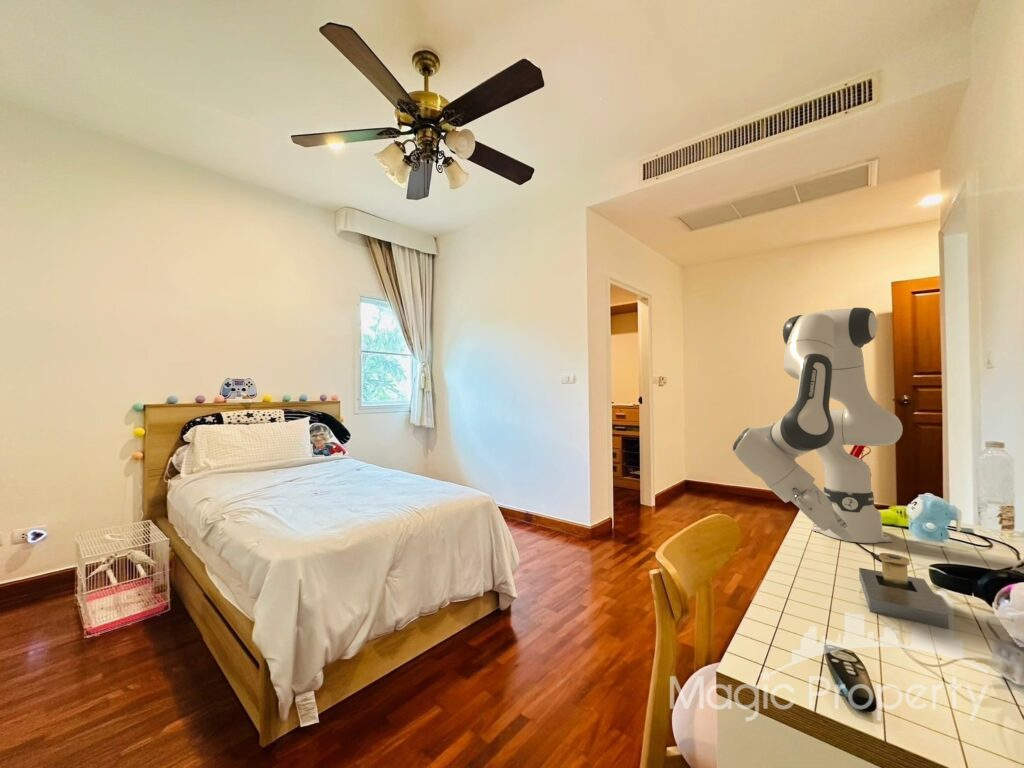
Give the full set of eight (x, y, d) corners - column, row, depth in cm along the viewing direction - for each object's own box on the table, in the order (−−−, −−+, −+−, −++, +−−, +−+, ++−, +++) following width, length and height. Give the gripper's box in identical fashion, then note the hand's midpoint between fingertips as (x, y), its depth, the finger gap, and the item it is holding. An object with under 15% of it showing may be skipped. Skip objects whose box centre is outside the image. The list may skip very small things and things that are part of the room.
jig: (859, 578, 96) (859, 567, 96) (924, 590, 90) (924, 579, 90) (869, 611, 82) (869, 598, 82) (948, 628, 75) (948, 615, 75)
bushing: (879, 587, 92) (877, 551, 92) (908, 593, 89) (906, 555, 89) (882, 596, 88) (881, 558, 88) (913, 602, 85) (911, 563, 85)
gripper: (805, 485, 89) (865, 538, 84) (804, 470, 106) (854, 513, 100) (781, 502, 92) (839, 555, 86) (784, 485, 109) (832, 529, 103)
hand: (847, 533), depth 93 cm, fingers open, 8 cm apart
